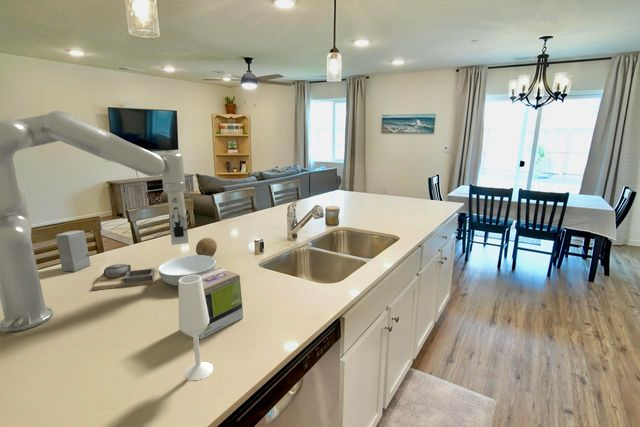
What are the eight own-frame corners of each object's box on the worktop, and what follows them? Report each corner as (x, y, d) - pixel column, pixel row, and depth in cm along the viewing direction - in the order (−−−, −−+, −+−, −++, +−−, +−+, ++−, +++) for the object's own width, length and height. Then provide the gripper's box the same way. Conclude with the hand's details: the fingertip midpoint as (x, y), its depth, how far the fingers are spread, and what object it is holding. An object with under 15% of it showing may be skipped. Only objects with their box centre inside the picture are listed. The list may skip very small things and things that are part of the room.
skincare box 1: (74, 272, 139) (68, 235, 135) (60, 271, 140) (53, 234, 137) (92, 264, 147) (86, 230, 143) (78, 263, 148) (72, 229, 145)
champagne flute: (188, 385, 77) (178, 288, 71) (180, 368, 82) (170, 277, 76) (217, 373, 80) (209, 280, 75) (208, 358, 86) (200, 270, 80)
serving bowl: (193, 266, 145) (192, 251, 144) (228, 276, 135) (227, 260, 133) (148, 284, 128) (146, 267, 126) (184, 297, 117) (182, 279, 116)
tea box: (224, 308, 110) (221, 266, 107) (243, 318, 104) (241, 274, 101) (181, 328, 99) (176, 281, 96) (200, 341, 93) (195, 292, 90)
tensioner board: (153, 282, 129) (151, 270, 128) (93, 290, 123) (90, 277, 122) (157, 269, 142) (156, 258, 141) (103, 275, 136) (101, 264, 134)
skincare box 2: (171, 245, 125) (168, 213, 122) (171, 242, 129) (168, 211, 126) (189, 243, 127) (186, 212, 124) (188, 239, 131) (185, 209, 128)
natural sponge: (204, 264, 148) (202, 242, 145) (192, 259, 153) (190, 238, 151) (221, 258, 155) (220, 237, 152) (209, 254, 160) (208, 234, 158)
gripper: (184, 190, 116) (189, 240, 121) (186, 183, 132) (190, 228, 136) (161, 191, 114) (167, 242, 118) (165, 184, 129) (170, 229, 134)
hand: (179, 234), depth 127 cm, fingers closed on skincare box 2, 4 cm apart
